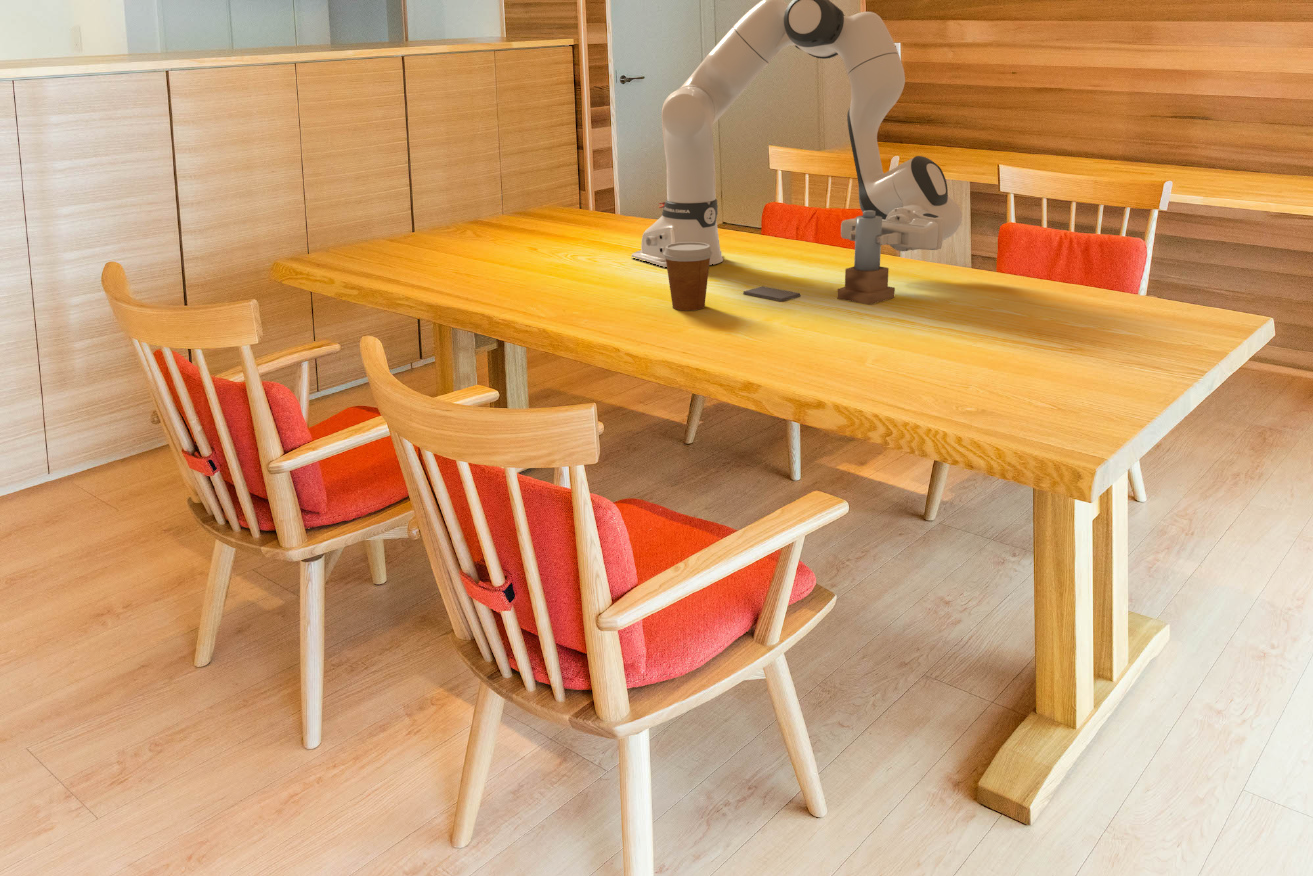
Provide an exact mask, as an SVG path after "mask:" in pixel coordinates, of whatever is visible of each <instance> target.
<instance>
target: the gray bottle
mask: <svg viewBox="0 0 1313 876" xmlns="http://www.w3.org/2000/svg"><path fill="white" fill-rule="evenodd" d="M875 213H876V211H873V210H865V211H863V212H862V215H858V216H856V217H855V218H856V231H855V241H854V263H853V264H854V265H853V267H854V269H856V270H860V271H875V270H879V269H880V267H881V251H882V245H878V244H876V237H877V235H880V234H881V232H882V217H881V216H875Z"/></svg>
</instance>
